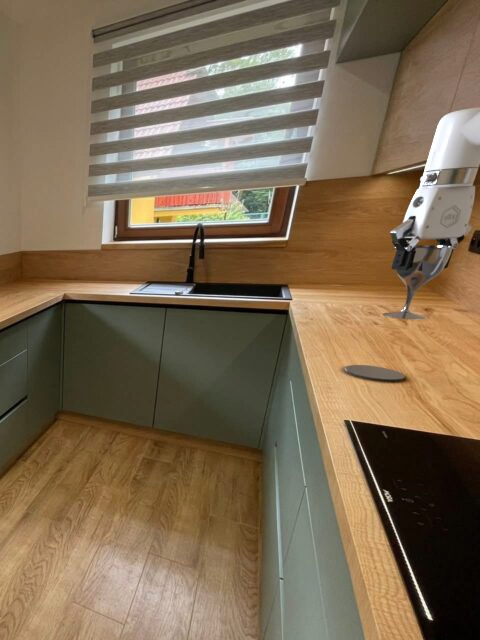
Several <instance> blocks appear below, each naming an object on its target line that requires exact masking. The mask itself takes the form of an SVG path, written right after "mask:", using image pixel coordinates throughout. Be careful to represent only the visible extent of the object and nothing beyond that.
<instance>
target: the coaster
mask: <svg viewBox="0 0 480 640" xmlns="http://www.w3.org/2000/svg"><path fill="white" fill-rule="evenodd" d="M343 371H344V372H345V373H346V374H347V375H349V376H351V377H352V376H353V377H355V378H360V379H363V380H368V381H373V382H374V381H375V382H383V383H384V382H385V383H393V382H394V383H395V382H396V383H397V382H402V381H404V380H405V375H404V374H403V373H402V372H400V371H397V370H394V369H391V368H386V367H382V366H377V365H368V364H367V365H366V364H351V365H350V364H349V365H347V366H345V367H344V369H343Z"/></svg>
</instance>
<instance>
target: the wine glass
mask: <svg viewBox="0 0 480 640" xmlns="http://www.w3.org/2000/svg"><path fill="white" fill-rule="evenodd" d="M452 248H453V246H438V244H437V245H436V244H435V245H430V244H429V245H428V244H427V245H424V244H423V245H421V244H420V245H417V244H416V245H415V246H414V247H413V249H412V250H411V251H414V254H413V257H412V260H411V264H410V267H409V269H408V270H395V271H396V274H397V276H398V277H399V278H400V280H401V281H402V282H403V283H404V285H405V287H406V299H405V304H404V307H403V308H402V310H400V311H394V312H393V311H392V312H384V313H382V316H384V317H387V318H393V319H400V320H425V319H427V316H425V315H421V314H417V313H414V312H412V311H410V310H409V309H410V306H411V303H412V301H413V299H414V296H415V294H416V292H417V291H418V290H419V289H420V288H421V287H422V286H423V285H425V284H426V283H428V282H429V281H431V280H433V279H434V278H435V277H437V276H438V275H439V274H441V272H442V271H443V270H444V269H445V268H444V266H445V265H446V263H447V261H448V259H449V256H450V254H451V251H452Z"/></svg>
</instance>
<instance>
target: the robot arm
mask: <svg viewBox="0 0 480 640" xmlns="http://www.w3.org/2000/svg"><path fill="white" fill-rule="evenodd" d="M479 168H480V107H478V106H477V107H470V108H463V109H459V110H455V111H452V112H448V113H447V114H445V115H443V116H442V117H441V119H440V120H439V122H438V124H437V127H436V130H435V134H434V137H433V140H432V144H431V147H430V150H429V154H428V156H427V160H426V164H425V167H424V171H423V174H422V176H421V177H420V179H419V181H420V183H419V187H418V188H416V190H415V194H414V195H413V197H412V199H411V201H410V203H409V205H408V208H407V210H406V212H405V215H404V218H403V220H402V223H400V224H399V225H397V226H396V227H394V228H393V229H392V230H390V232H389V234H390V237H391V243H392V245H393V246H394V248H393V250H394V251H395V255H394V258H393V261H392V265H391V270H394V271H396V270H408V269H409V267H410V264H411V260H412V257H413V254H414V251H411V250H412V249H413V247H414V246H417V244H418V243H419V242H420V241H421V240H436V243H437V246H453V248H452V251H451V254H450V256H449V259H448V261H447V263H446V265H445V266H444V268H443V269H447V268H448V266H449V265H450V262H451V258H452V256H453V252H454V250H455V249H457V248H458V247H459V244H460V243H462V242H463V241H464V240H465V237H466V236H467V235H468V234H469V233H470V232H471V230H472V229H473V227H472V225H471V224H470V219H471V216H472V212H473V208H474V202H475V197H476V196H475V195H476V185H474V182H475V179H476V176H477V173H478V170H479Z"/></svg>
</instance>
